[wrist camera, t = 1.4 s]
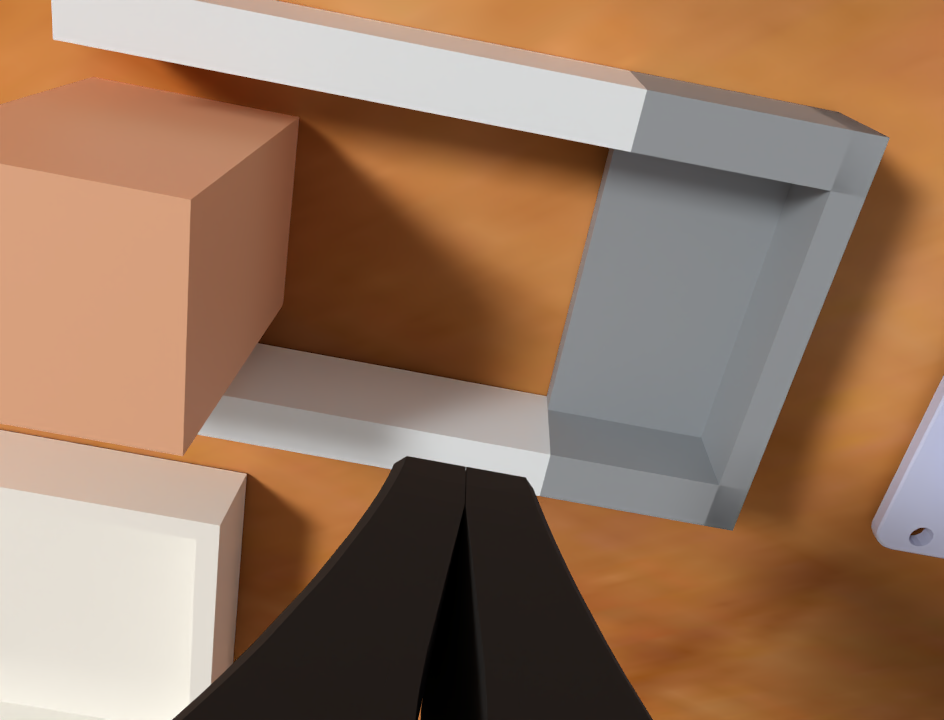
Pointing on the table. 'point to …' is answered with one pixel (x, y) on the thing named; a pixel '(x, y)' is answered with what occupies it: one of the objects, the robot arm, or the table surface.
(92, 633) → the tray
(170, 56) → the channel
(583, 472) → the grey u-shaped piece
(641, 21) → the table surface
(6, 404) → the block
